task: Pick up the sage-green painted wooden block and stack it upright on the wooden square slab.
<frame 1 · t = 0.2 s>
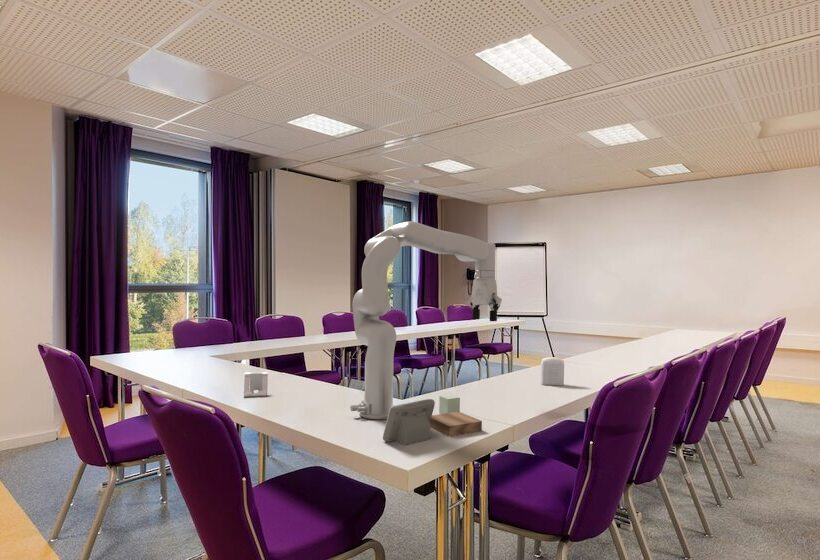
hand: (484, 320, 182), 31 cm above the table, tool pointing down, fingers open, 9 cm apart
wooden square slab: (453, 428, 146), on the table
photo printer: (552, 385, 214), on the table
sage block: (449, 414, 162), on the table
digital clock: (409, 439, 136), on the table
portable electronic device stand: (255, 395, 186), on the table
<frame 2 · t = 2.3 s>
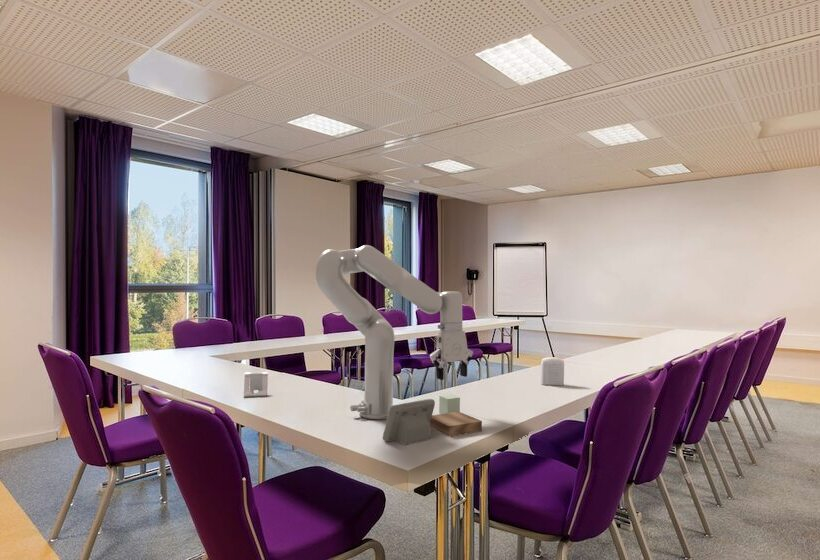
hand: (452, 377, 162), 12 cm above the table, tool pointing down, fingers open, 9 cm apart
nothing on the table moved.
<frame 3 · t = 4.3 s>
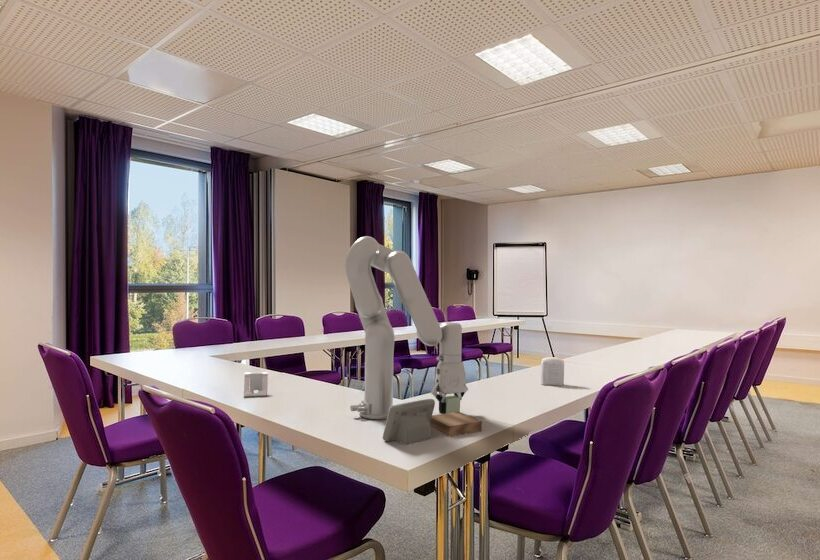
hand: (449, 411, 162), 1 cm above the table, tool pointing down, fingers closed on sage block, 5 cm apart
sage block: (449, 414, 162), on the table, touching gripper
everything else where it was.
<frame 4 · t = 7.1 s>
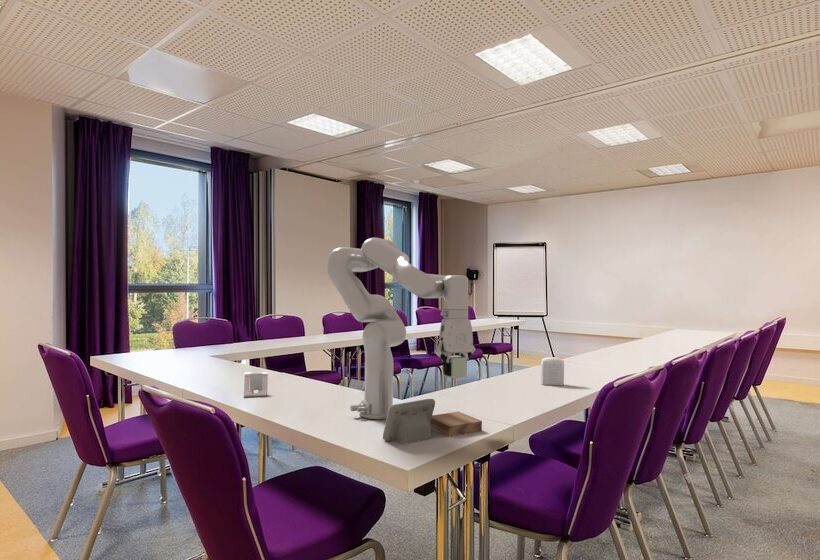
hand: (455, 373, 146), 17 cm above the table, tool pointing down, fingers closed on sage block, 5 cm apart
sage block: (455, 376, 146), point 16 cm above the table, touching gripper
everything else where it was.
when the fingers open (5 cm above the table, at t = 9.9 s): sage block stays where it is, resting on wooden square slab.
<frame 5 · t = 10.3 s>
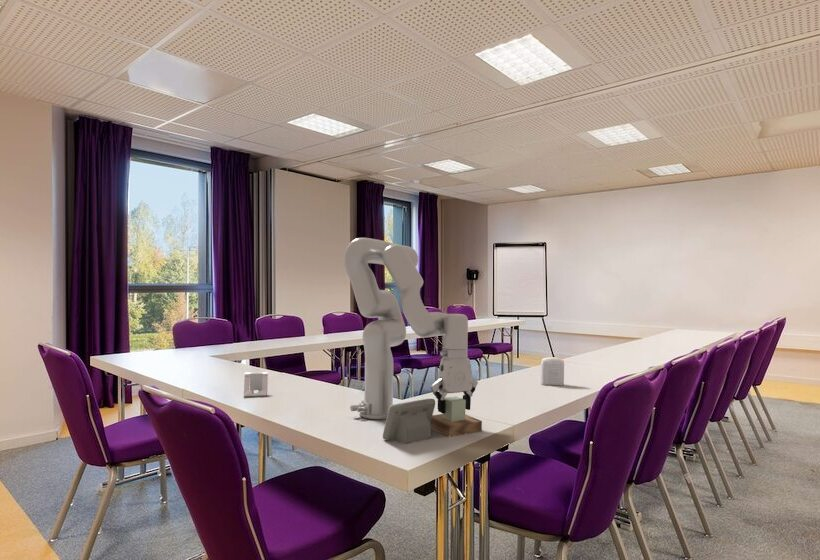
hand: (454, 410, 146), 5 cm above the table, tool pointing down, fingers open, 8 cm apart
sage block: (453, 418, 146), point 3 cm above the table, touching wooden square slab
everything else where it was.
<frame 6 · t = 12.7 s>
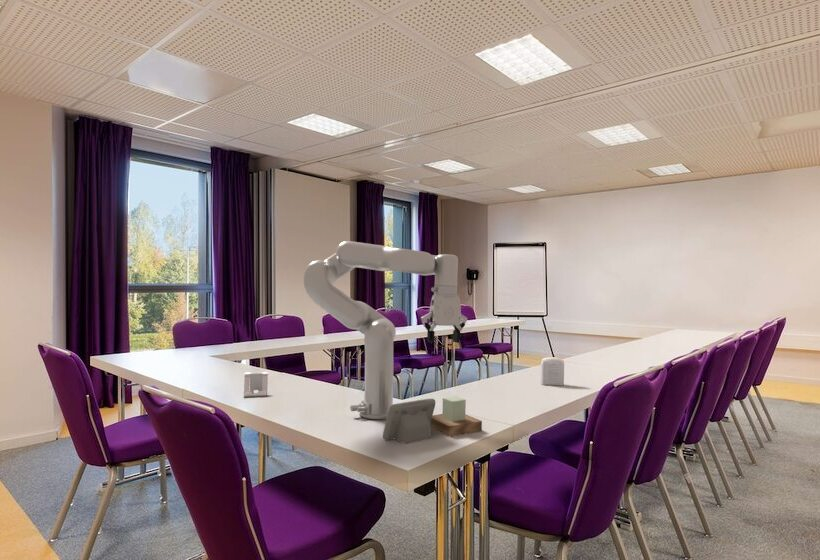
hand: (443, 342, 159), 25 cm above the table, tool pointing down, fingers open, 9 cm apart
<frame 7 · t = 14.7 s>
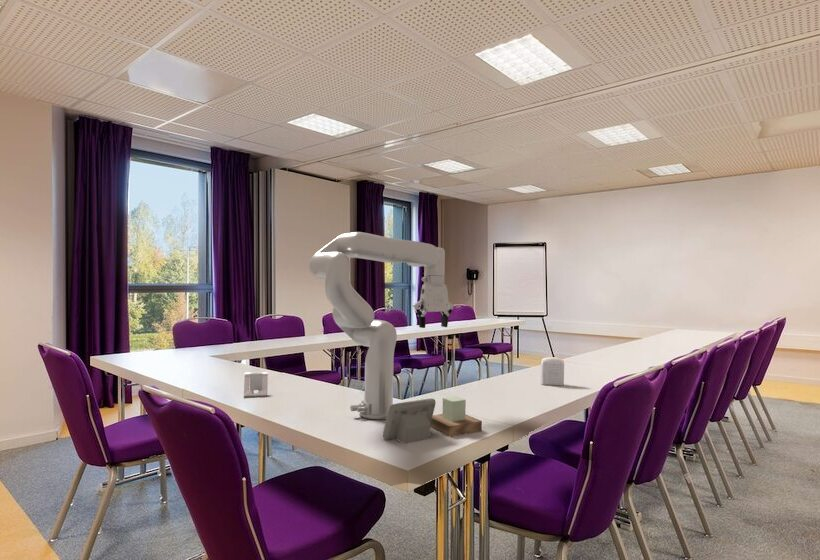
hand: (433, 327, 176), 28 cm above the table, tool pointing down, fingers open, 9 cm apart
at the end: sage block inside the target area on the wooden square slab (0.1 cm from its centre), point 3.0 cm above the wooden square slab's base; sage block tilted 0°; the gripper is holding nothing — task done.
